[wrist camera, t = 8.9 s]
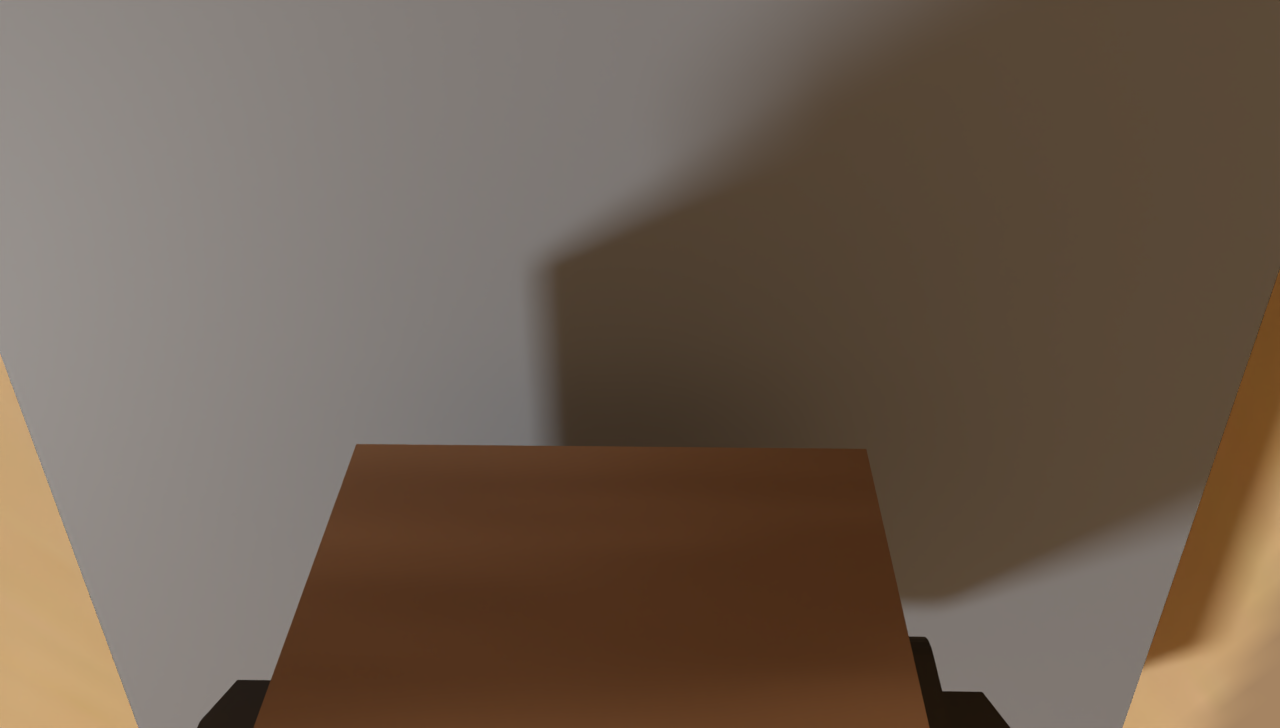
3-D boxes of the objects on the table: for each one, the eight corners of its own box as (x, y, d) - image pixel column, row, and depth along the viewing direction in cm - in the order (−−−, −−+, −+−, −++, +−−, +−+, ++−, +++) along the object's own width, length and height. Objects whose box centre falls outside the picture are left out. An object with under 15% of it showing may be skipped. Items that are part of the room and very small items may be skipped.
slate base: (-2, -144, 13) (-161, -81, 11) (1257, -145, 13) (1398, -79, 10) (240, 695, 21) (182, 845, 18) (1027, 706, 21) (1076, 861, 18)
